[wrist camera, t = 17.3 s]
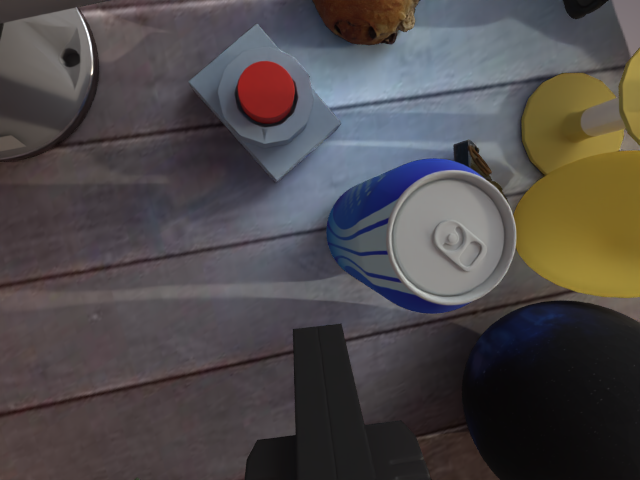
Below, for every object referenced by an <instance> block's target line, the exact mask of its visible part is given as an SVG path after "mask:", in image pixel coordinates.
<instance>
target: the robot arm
mask: <svg viewBox="0 0 640 480" xmlns="http://www.w3.org/2000/svg"><path fill="white" fill-rule="evenodd" d="M105 1H110V0H0V162H12V161H18V160H23V159H27V158H31V157H34V156H37V155H39V154H42V153H44V152H46V151H48V150H50V149H52V148H54V147H55V146H57V145H58V144H60V143H61V142H62V141H64V140H65V139H66V138H68V137H69V136H70V135H71V134H72V133H73V132H74V131H75V130H76V128H77V127H78V126H79V125H80V124H81V122H82V121H83V119H84V118H85V116H86V115H87V113H88V111H89V109H90V107H91V105H92V102H93V100H94V97H95V93H96V90H97V84H98V77H99V60H98V52H97V47H96V43H95V40H94V37H93V34H92V31H91V29H90V27H89V24H88V23H87V21H86V19H85V17H84V15H83V14H82V12H81V11H80V9H79V8H78V7H81V6H86V5H91V4H96V3H100V2H105ZM293 349H294V386H295V424H296V435H293V436H285V437H277V438H269V439H261V440H257V442H256V443H255V445H254V447H253V449H252V451H251V453H250V454H249V456H248V458H247V462H246V471H245V480H432V479H431V478H430V474H429V471H428V468H427V466H426V463H425V461H424V459H423V455H422V452H421V449H420V446H419V444H418V441H417V438H416V436H415V435H414V434H413V433H412V432H411V431H410V429H409V428H408V427H407V426H406V425H405V424H404V423H403V422H402V421H393V422H385V423H377V424H369V425H364V421H363V417H362V412H361V408H360V404H359V399H358V395H357V390H356V386H355V382H354V377H353V373H352V368H351V364H350V360H349V355H348V351H347V346H346V342H345V338H344V333H343V329H342V324H333V325H325V326H316V327H308V328H299V329H293Z"/></svg>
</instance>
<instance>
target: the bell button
mask: <svg viewBox="0 0 640 480" xmlns="http://www.w3.org/2000/svg"><path fill="white" fill-rule="evenodd" d="M294 94H295V88H294V83H293V80H292V78H291V76H290V74H289V73H288V72H287V71H286V69H284V68H283V67H282V66H280V65H279V64H277V63H274V62H270V61H259V62H256V63H253V64H251V65H250V66H248V67H247V68H246V69H245V70H244V71H243V73H242V74H241V76H240V78H239V81H238V96H239V100H240V103H241V106H242V108H243V110H244V112H245V113H246V114H247V115H248V116H249V117H250V118H251V119H253V120H254V121H256V122H259V123H263V124H272V123H276V122H279V121H280V120H282V119H283V118H285V117H286V116H287V115H288V113H289V112H290V110H291V108H292V105H293V100H294Z"/></svg>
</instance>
